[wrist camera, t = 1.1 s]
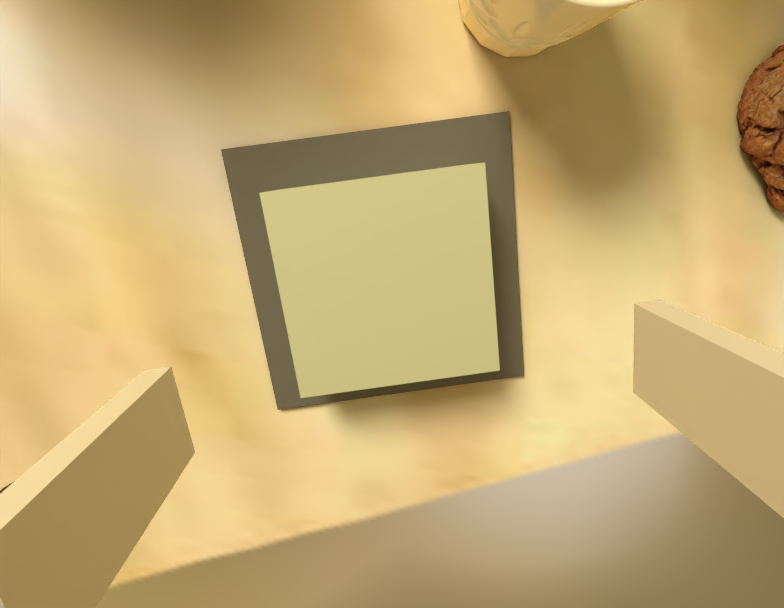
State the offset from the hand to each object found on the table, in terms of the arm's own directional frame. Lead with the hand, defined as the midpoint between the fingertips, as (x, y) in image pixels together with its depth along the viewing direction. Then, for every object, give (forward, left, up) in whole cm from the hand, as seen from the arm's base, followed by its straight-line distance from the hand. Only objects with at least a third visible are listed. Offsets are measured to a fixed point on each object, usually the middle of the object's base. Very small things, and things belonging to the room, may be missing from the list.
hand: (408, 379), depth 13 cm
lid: (0, 0, -15) cm, 15 cm away
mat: (0, 0, -16) cm, 16 cm away
